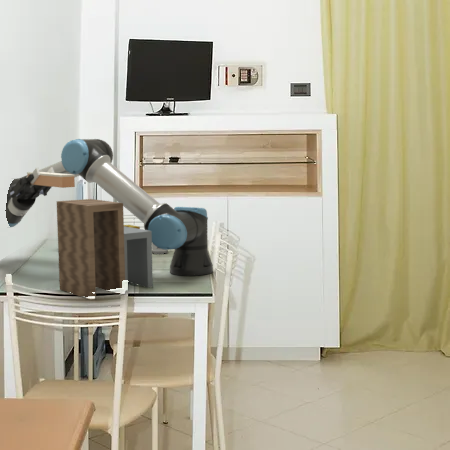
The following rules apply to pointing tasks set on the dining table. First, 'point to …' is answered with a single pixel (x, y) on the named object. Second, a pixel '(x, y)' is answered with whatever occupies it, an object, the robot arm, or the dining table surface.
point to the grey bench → (138, 256)
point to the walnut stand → (90, 245)
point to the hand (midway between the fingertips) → (45, 171)
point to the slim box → (54, 179)
